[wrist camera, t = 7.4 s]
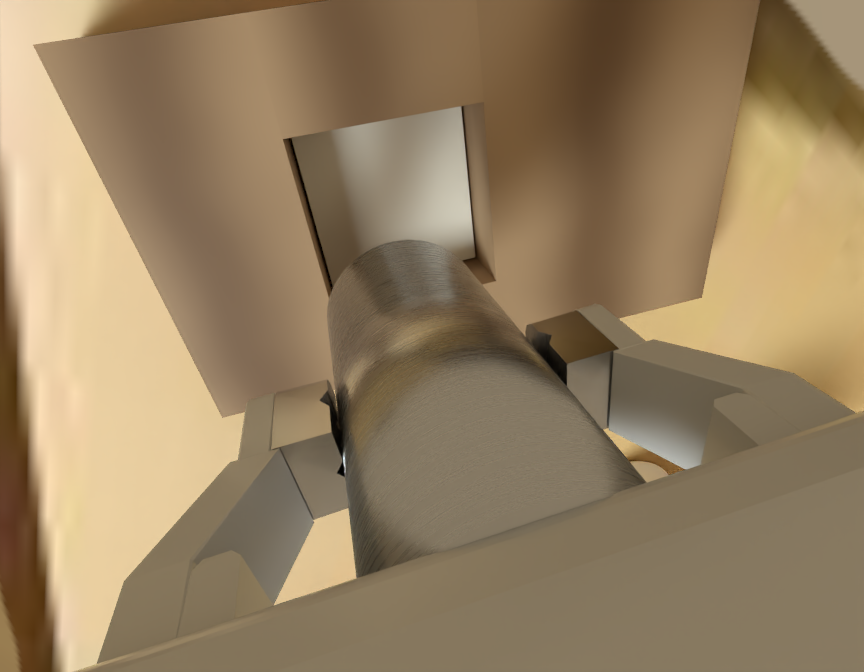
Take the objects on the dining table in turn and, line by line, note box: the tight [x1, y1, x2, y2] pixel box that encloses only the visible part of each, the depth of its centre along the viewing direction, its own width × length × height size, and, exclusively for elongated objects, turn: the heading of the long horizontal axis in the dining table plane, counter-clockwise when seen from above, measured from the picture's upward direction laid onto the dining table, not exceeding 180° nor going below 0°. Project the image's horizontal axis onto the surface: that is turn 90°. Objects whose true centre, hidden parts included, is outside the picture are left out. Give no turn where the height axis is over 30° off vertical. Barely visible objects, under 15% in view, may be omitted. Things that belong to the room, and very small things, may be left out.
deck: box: [33, 0, 760, 418], centre depth 17 cm, size 20×12×2 cm, turn 98°
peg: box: [327, 240, 647, 578], centre depth 9 cm, size 4×4×8 cm
